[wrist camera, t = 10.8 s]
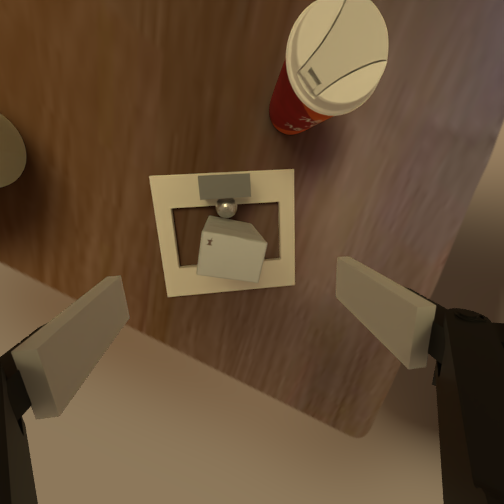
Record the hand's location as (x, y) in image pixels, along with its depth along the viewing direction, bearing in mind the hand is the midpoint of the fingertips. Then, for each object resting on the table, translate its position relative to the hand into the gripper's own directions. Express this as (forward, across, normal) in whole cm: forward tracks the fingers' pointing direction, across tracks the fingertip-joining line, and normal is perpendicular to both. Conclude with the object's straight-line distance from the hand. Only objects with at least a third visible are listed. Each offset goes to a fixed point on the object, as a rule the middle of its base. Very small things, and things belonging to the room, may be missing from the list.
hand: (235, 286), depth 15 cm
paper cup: (+20, +9, +15) cm, 26 cm away
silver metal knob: (+17, 0, +5) cm, 18 cm away
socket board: (+19, 0, 0) cm, 19 cm away
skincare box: (+19, 0, 0) cm, 19 cm away
